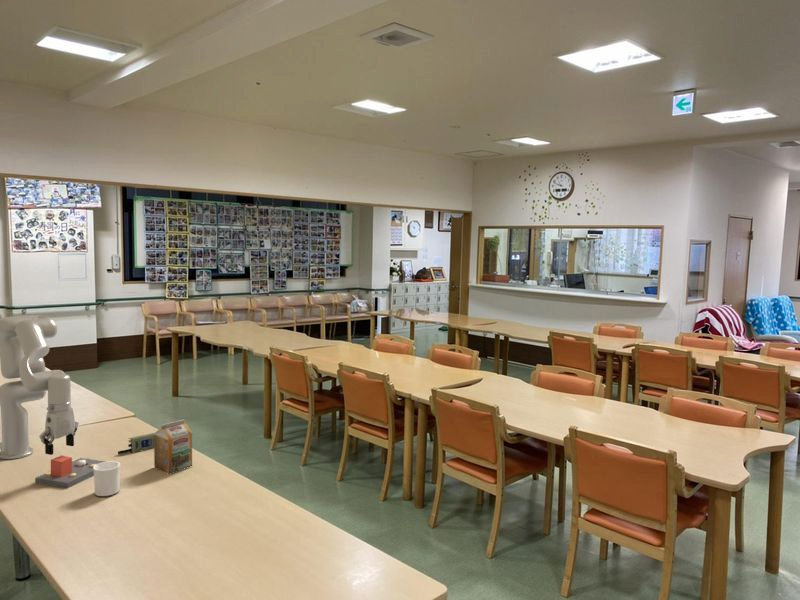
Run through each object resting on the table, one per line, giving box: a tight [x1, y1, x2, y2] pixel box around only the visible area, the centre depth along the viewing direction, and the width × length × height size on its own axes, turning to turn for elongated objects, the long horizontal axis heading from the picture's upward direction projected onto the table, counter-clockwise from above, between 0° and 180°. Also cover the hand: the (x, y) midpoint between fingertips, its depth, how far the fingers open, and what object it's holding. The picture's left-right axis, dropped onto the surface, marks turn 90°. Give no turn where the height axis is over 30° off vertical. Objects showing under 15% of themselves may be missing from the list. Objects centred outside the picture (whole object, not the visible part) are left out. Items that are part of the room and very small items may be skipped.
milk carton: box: [153, 419, 193, 475], centre depth 237 cm, size 11×11×19 cm
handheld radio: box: [117, 432, 155, 455], centre depth 258 cm, size 7×3×25 cm
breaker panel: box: [34, 457, 106, 489], centre depth 227 cm, size 15×22×3 cm
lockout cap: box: [50, 455, 73, 477], centre depth 222 cm, size 5×5×6 cm
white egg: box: [77, 460, 86, 467], centre depth 232 cm, size 3×3×2 cm
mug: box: [93, 460, 121, 499], centre depth 212 cm, size 11×9×10 cm
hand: (59, 449), depth 222 cm, fingers open, 9 cm apart
